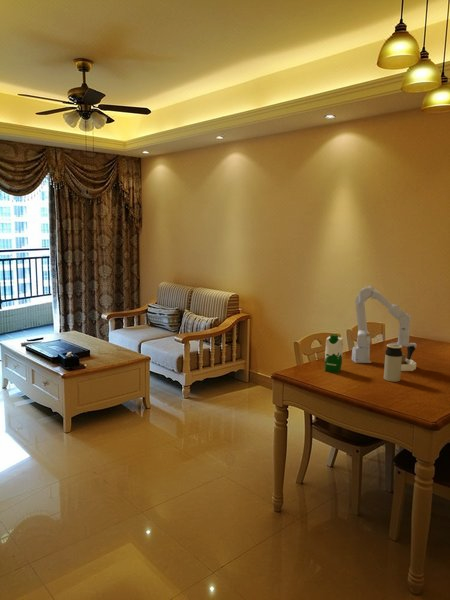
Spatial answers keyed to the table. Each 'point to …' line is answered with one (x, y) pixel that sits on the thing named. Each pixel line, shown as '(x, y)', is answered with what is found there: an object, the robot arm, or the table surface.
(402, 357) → the wick
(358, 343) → the robot arm
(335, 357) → the milk carton
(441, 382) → the table surface
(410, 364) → the white low round dish
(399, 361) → the travel mug
